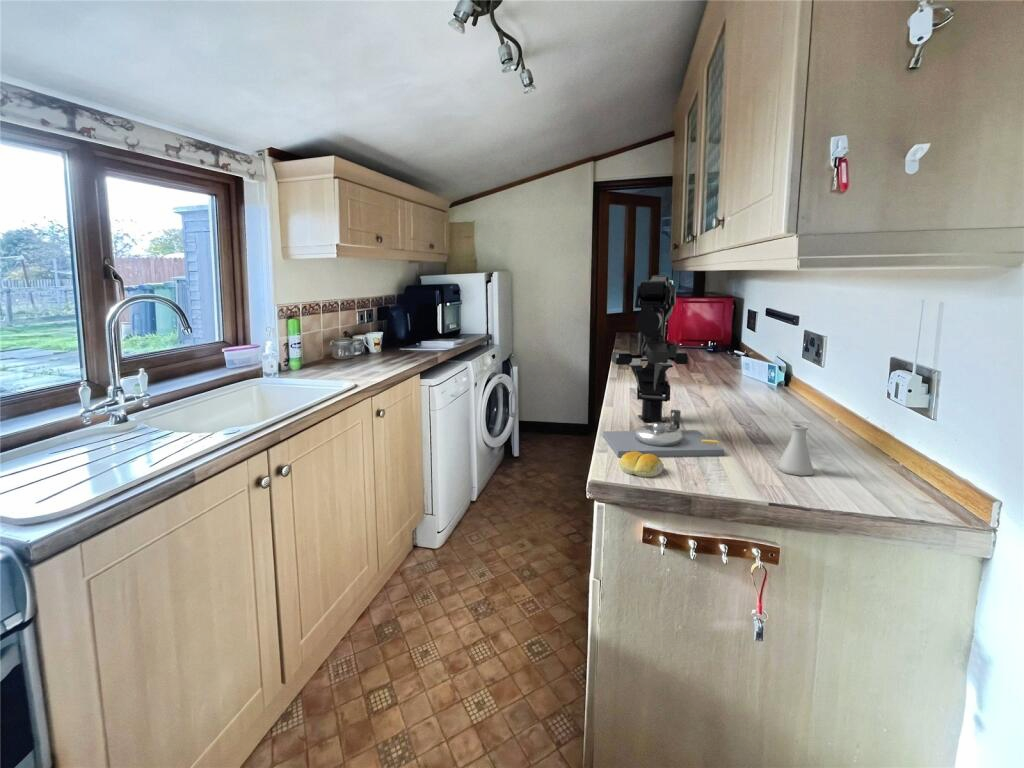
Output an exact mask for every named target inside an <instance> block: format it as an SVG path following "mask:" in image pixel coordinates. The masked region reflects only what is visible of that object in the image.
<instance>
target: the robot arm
mask: <svg viewBox="0 0 1024 768" xmlns="http://www.w3.org/2000/svg"><path fill="white" fill-rule="evenodd" d="M636 288H637V289H636V294H635V295H636V296H635V303H634V308H635V309H640V312H639V313H638V314H637V316H636V318H635V320H634V323H635V324H634V325H635V328H636V329H637V331H638V332H639V333H638V334H637V335H638V336H637V338H638V348H637V353H631V352H630V351H628V350H614V351H613V352H612V354H611V363H613V364H615V365H617V366H618V365H619V366H623V365H626V366H628V367H629V368H631V371H632V373H633V375H634V378H635V382H636V384H637V386H636V391H637V392H636V395H637V396H636V400H642V403H641V414H638V415H637V417H638V418H639V419H640V420H641V421H642V422H643V423H653V422H663V423H666V422H667V421H666V419H665V418H664V417H663V405H664V404H663V402H665V403H667V402H670V401H671V385H670V383H669V380H667V373H666V371H668V370H669V369H671V368H673V367H674V365H673V364H672V362H674V363H675V364H676V365H689V364H690V356H689V354H688V353H687V352H686V351H683V350H677V349H678V345H677V344H676V343H677V342H668V343H665V336H666V326H667V325H666V324H667V321H668V319H669V318H670V317H671V315H672V314H673V308H674V307H676V301H677V299H676V298H677V293H676V292H677V290H676V286H675V285H674V284H673V283H672V282H671V281H670V276H668V275H667V274H664V275H662V274H661V275H659V274H658V275H654V274H653V275H651V276H650V279H649V280H641V281H640V283H639V284H638V285H637V287H636ZM642 362H647V364H646V365H645V366H644V365H642V364H641V363H642Z"/></svg>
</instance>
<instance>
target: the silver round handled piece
mask: <svg viewBox="0 0 1024 768" xmlns="http://www.w3.org/2000/svg"><path fill="white" fill-rule="evenodd" d="M681 413H682V412H681V410H679V409H671V410H670V419H669V420H670V421H669V422H670V423H669V424H667V425H666V422H652V425H651V424H650V425H649V424H648V425H647V424H646V425H641V426H638V427H636V428H635V431H636V436H635V438H636V440H638V441H639V442H642V443H645V444H649V445H655V446H674V445H678V444H680V443H681V442H682V432H681V431H680V430H681V429H680V428H681V415H682V414H681Z"/></svg>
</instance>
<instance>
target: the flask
mask: <svg viewBox="0 0 1024 768" xmlns="http://www.w3.org/2000/svg"><path fill="white" fill-rule="evenodd" d="M791 428H792V433H791V436H790V440H789V441H788V444H787V446H786V448H785V450H784V452H783V454H782V456H781V458H780V459H779V461H778V462H777V465H776V469H778V470H779V471H781V472H783V473H784V474H789V475H796V476H814V468H813V464H812V460H811V457H810V454H809V449H808V445H807V431H809V425H806V424H800V423H799V424H798V423H795V424H794V423H793V424H791Z"/></svg>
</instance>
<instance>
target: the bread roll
mask: <svg viewBox="0 0 1024 768" xmlns="http://www.w3.org/2000/svg"><path fill="white" fill-rule="evenodd" d="M664 467H665V466H664V463H663V461H662V459H661V458H660V457H657V456H655V455H653V454H642V453H640V452H637V451H632V452H628V453H626V454H624V455H623V456H622V457H620V460H619V468H620V469H621V471H623V473H626V474H628V475H632V474H634V475H636V476H637V477H639V478H640V477H642V478H655V477H657V476H659V475H660V474H662V472H663V471H664Z"/></svg>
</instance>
